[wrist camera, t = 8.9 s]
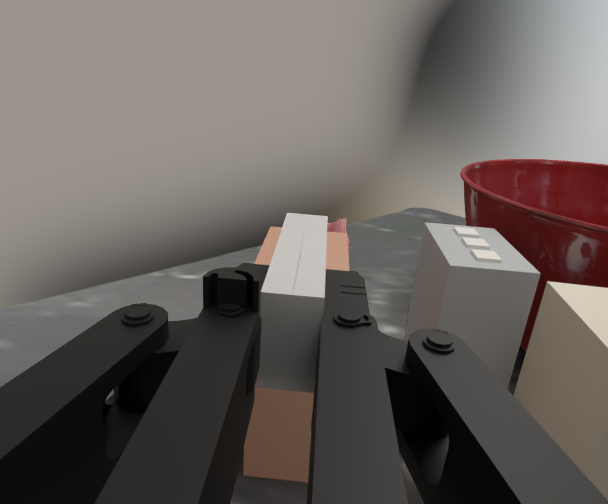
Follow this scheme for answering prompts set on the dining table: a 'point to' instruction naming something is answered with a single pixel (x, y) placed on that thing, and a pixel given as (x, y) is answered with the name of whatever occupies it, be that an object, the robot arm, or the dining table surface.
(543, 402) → the cream block
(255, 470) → the terracotta block
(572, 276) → the mixing bowl
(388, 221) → the dining table surface
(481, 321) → the grey block
